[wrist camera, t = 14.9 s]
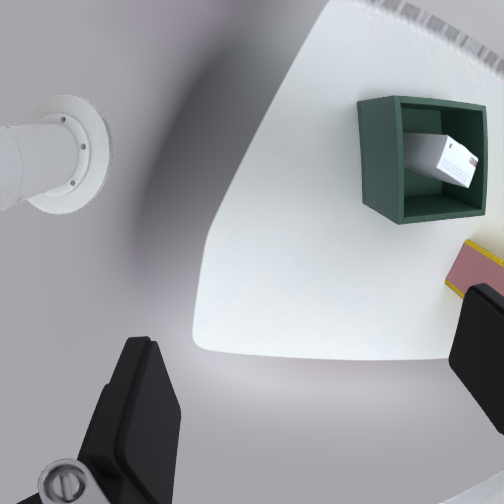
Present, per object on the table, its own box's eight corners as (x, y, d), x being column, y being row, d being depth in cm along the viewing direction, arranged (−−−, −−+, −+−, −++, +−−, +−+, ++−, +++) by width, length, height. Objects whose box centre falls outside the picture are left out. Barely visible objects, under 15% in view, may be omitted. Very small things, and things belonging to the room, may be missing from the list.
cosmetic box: (386, 157, 41) (433, 169, 30) (396, 129, 40) (446, 133, 29) (418, 175, 43) (468, 192, 31) (428, 148, 41) (480, 158, 30)
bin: (362, 203, 45) (397, 224, 34) (356, 101, 39) (393, 95, 29) (442, 196, 45) (485, 215, 35) (440, 106, 40) (486, 106, 30)
